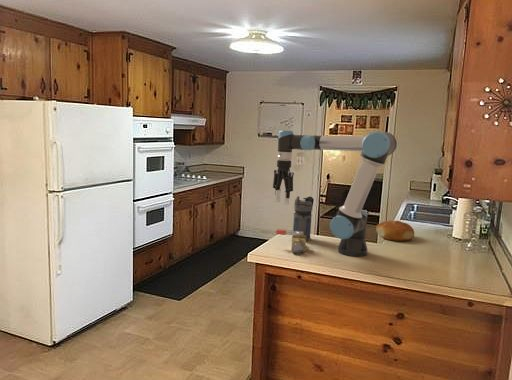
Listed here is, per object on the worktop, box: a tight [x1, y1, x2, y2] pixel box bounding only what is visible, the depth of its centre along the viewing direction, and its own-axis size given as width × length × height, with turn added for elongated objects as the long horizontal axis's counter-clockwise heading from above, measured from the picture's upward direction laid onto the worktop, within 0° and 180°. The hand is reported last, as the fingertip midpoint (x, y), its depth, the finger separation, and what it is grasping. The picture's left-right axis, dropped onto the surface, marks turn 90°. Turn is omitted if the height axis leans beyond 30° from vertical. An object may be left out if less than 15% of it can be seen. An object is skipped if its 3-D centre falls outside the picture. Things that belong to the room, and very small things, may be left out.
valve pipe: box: [290, 235, 307, 255], centre depth 218 cm, size 18×7×8 cm, turn 171°
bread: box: [375, 220, 415, 242], centre depth 254 cm, size 23×23×10 cm
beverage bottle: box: [292, 196, 315, 241], centre depth 239 cm, size 10×13×25 cm
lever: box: [275, 228, 303, 236], centre depth 218 cm, size 14×4×2 cm, turn 81°
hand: (281, 202), depth 223 cm, fingers open, 6 cm apart
